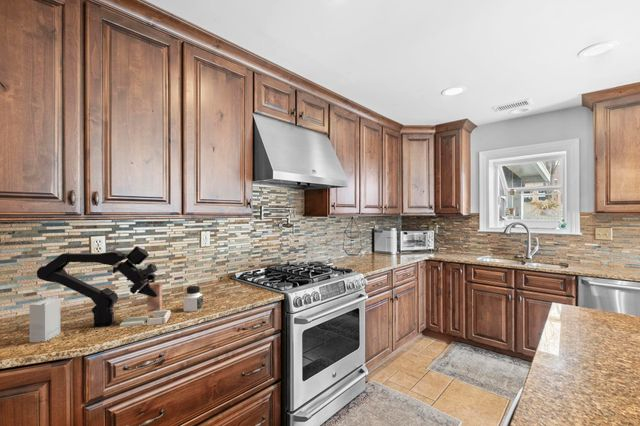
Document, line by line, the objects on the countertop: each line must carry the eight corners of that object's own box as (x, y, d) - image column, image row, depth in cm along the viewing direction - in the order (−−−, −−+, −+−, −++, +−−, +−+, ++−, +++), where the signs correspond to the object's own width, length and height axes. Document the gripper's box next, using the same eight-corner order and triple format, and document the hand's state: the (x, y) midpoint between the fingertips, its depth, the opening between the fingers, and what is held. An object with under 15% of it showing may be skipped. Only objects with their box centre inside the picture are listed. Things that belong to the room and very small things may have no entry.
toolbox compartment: (147, 325, 135) (147, 319, 135) (153, 316, 146) (153, 311, 146) (165, 323, 137) (165, 317, 137) (170, 314, 148) (170, 309, 148)
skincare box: (45, 334, 125) (45, 298, 125) (61, 334, 126) (61, 297, 126) (28, 343, 117) (28, 304, 117) (45, 342, 117) (45, 303, 117)
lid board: (119, 326, 133) (119, 324, 133) (126, 320, 142) (126, 317, 142) (143, 324, 136) (143, 322, 136) (148, 317, 144) (148, 315, 144)
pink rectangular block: (147, 311, 138) (147, 285, 138) (150, 308, 143) (150, 282, 143) (159, 310, 139) (159, 284, 140) (162, 307, 144) (161, 281, 144)
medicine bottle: (197, 311, 153) (197, 287, 153) (183, 311, 153) (183, 287, 154) (203, 307, 160) (202, 284, 160) (189, 307, 161) (189, 284, 161)
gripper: (138, 262, 131) (166, 286, 134) (151, 256, 150) (176, 277, 152) (117, 281, 129) (146, 305, 132) (133, 273, 148) (158, 294, 150)
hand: (158, 294), depth 142 cm, fingers closed on pink rectangular block, 5 cm apart
